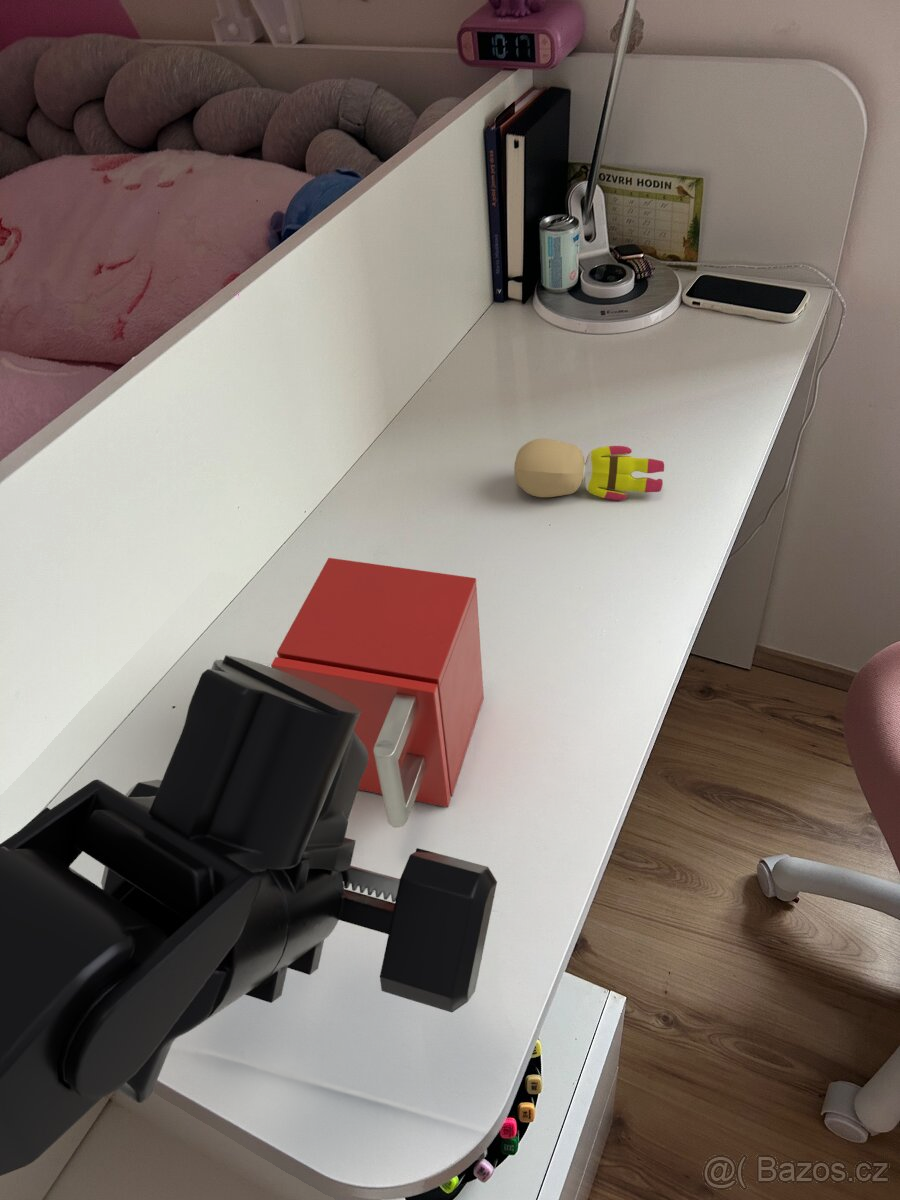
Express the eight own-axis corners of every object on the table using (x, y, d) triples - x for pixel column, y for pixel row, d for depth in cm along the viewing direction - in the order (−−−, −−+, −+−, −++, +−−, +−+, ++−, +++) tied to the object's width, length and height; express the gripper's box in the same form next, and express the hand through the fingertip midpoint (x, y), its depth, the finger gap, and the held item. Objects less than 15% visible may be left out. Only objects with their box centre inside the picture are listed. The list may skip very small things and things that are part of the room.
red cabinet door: (428, 869, 66) (410, 756, 56) (278, 836, 68) (238, 724, 59) (451, 799, 70) (437, 683, 60) (308, 770, 72) (275, 656, 63)
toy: (665, 443, 95) (521, 433, 98) (667, 450, 88) (512, 439, 91) (659, 501, 97) (517, 489, 99) (660, 511, 90) (507, 499, 92)
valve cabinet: (452, 797, 70) (438, 679, 61) (310, 769, 73) (276, 652, 63) (484, 697, 77) (476, 577, 67) (353, 675, 80) (328, 557, 70)
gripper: (487, 775, 35) (542, 756, 50) (70, 676, 40) (235, 685, 55) (426, 1071, 34) (500, 961, 50) (9, 935, 39) (193, 872, 54)
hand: (351, 860), depth 52 cm, fingers open, 9 cm apart
